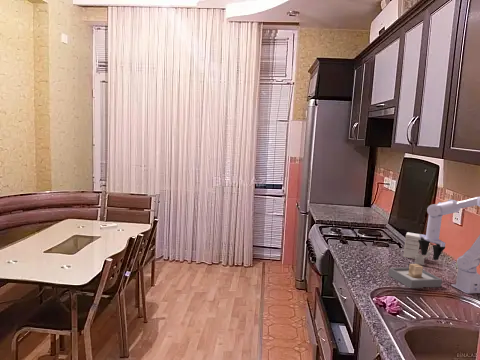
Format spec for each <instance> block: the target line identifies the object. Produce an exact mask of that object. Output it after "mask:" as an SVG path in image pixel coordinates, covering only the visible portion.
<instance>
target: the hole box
mask: <svg viewBox="0 0 480 360" xmlns="http://www.w3.org/2000/svg"><path fill="white" fill-rule="evenodd" d="M408 273H409V266H408V267H389V268H388V274H387V275H388V276H389V277H391V278H392V279H394V280H395V281H397V282H400V283H401V284H403V285H405V286H407V287H408V288H409V287H410V288H409V289H423V287H430V288H442V285H443V284H442V283H443V279H442V278H440V277H438V276H436V275H434V274H432V273H431V272H428V271H426V270H424V269H423V270H422V277H421V278H412V277H410V276H409V275H408Z"/></svg>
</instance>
